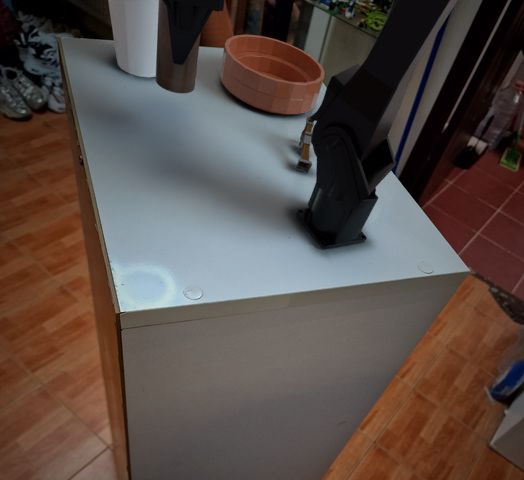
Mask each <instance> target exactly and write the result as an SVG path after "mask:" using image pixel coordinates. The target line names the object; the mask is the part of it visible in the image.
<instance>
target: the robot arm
mask: <svg viewBox="0 0 524 480" xmlns="http://www.w3.org/2000/svg"><path fill="white" fill-rule="evenodd" d="M162 1H163V2H164V4H165V5H166V7H167V12H168V21H169V30H170V39H171V49H172V58H173V63H174V64H178V65H183V64H184V63H185V61H186V59H187V57H188V55H189V53H190V52H191V50H192V48H193V46H194V44H195V42H196V40H197V38H198V36H199V35H200V36H201V34H200V33H202V31H203V29H204V28H205V26H206V24H207V22H208V21H209V19H210V17H211V16H212V13H213V12H223V11H224V8H225V2H226V1H225V0H162ZM458 1H459V0H396V2H395V4H394V5H393V7H392V9H391V11H390V13H389V15H388V17H387V18H386V20H385V22H384V25H383V26H382V27H381V30H380V32H379V34H378V36H377V38H376V40H374V41H375V42H374V44H373V45H372V47H371V49H370V51H369V53H368V55H367V57H366V58H365V60H364V61H363V63H361V65H360V64H359V63H358V62H355V63H354V64H352V65H351V66H349V67H347V68H345V69H343V70H341V71H339V72H338V73H336V74H333V75H332V76H331V77H330V80H329V82H328V84H327V86H326V89H325V92H324V96H323V99H322V101H321V104H320V106H319V107H318V109H317V110H316V111H315V112H314V113H312V114H313V115H312V116H311V117H310V119H311V121H314V122H315V123H314V125H313V127H312V132H311V133H312V134H311V145H312V149H313V153H314V155H315V157H316V166H315V167H316V169H315V171H316V173H315V175H316V176H315V178H316V180H315V184H314V187H313V189H312V192H311V195H310V198H309V200H308V202H307V206H308V207H304V208H298V209H297V210H296V211H295V216H296V217H297V218H298V220H299V221H300V222H301V223H302V225H303V226H304V228H305V229H306V230H307V231H308V232H309V234H310V235H311V236H312V238H313V239H314V241H315V242H316V243H317V245H318V246H319V247H320V248H321V249H323V250H329V249H335V248H341V247H344V246H345V247H346V246H351V245H356V244H362V243H365V242H367V239H368V237H367V236H366V235H365V233H364V232H363V228H364V227H365V225H366V223H367V221H368V220H369V217H370V215H371V214H372V211H373V209H374V208H375V206H376V204H377V202H378V200H379V196H378V195H377V194H376V192H377V187H378V185H379V184H381V182H382V181H383V180H384V179H385V178H386V177H387V176H388V175H389V173H390V172H391V171H392V170H393V169H394V168H395V167H396V165H397V161H396V158H395V155H394V152H393V147H392V145H391V141H390V138H389V133H390V131H391V129H392V126H393V124H394V122H395V120H396V118H397V115H398V113H399V111H400V108H401V106H402V103H403V99H404V97H405V93H406V90H407V87H408V83H409V81H410V79H411V76H412V74H413V73H414V71H415V70H416V68H417V66H418V65H419V64H420V61H421V60H422V58H423V57H424V55H425V53H426V52H427V50H428V48H429V47H430V45H431V44H432V42H433V41H434V39H435V38H436V36H437V34H438V32H439V31H440V30H441V29H442V26H443V25H444V23H445V22H446V20H447V18H448V17H449V16H450V13H451V12H452V10H453V9H454V7H455V6H456V4H457V2H458Z"/></svg>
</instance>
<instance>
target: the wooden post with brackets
mask: <svg viewBox="0 0 524 480" xmlns="http://www.w3.org/2000/svg"><path fill="white" fill-rule="evenodd" d="M313 114H314V113H312V112H308V114H307V117H306V118H305V120H306V121H305V125H304V127H303V130H302V131H301V133H300V137H299V143H298V145H297V146H299V147H298V151H297V152H298V153H299V154H300V158H298V161H297V163H296V165H295V170H296V171H300V172H305V173H309V172H310V170H311V168H312V166H313V161H311V160H310V147H311V145H312V144H311V134H312V130H313V127H314V125H315V121H311V119H310V117H311V116H312V115H313Z"/></svg>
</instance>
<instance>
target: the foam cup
mask: <svg viewBox="0 0 524 480" xmlns="http://www.w3.org/2000/svg"><path fill="white" fill-rule="evenodd" d="M107 2H108V8H109V9H108V10H109V15H110V22H111V28H112V29H111V30H112V37H113V42H114V49H115V50H114V51H115V58H116V61H117V63H116V64H117V66H118V67H119V68H120V69H121V70H122V71H124V72H126V73H128V74H129V75H133V76H136V77H141V78H154V77H155V78H156V55H157V31H158V7H159V0H107Z"/></svg>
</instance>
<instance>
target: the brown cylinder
mask: <svg viewBox="0 0 524 480" xmlns="http://www.w3.org/2000/svg"><path fill="white" fill-rule="evenodd" d="M201 33H202V32H201ZM201 33H200V35H199V36H198V38H197V40H196V42H195V44H194V46H193V48H192V50H191V52H190V53H189V55H188V57H187V59H186V61H185V63H184V64H183V65H178V64H174V63H173V58H172V49H171V39H170V30H169V21H168V12H167V7H166V5H165V4H164V2H163V1H162V0H159V7H158V31H157V55H156V77H155V83H156V84H157V85H158V86H159V87H160V88H162V89H163V90H165V91H167V92H171V93H175V94H190V93H192V92H194V90H195V87H196V80H197V79H196V78H197V68H198V60H199V52H200V51H199V50H200V42H201Z"/></svg>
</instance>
